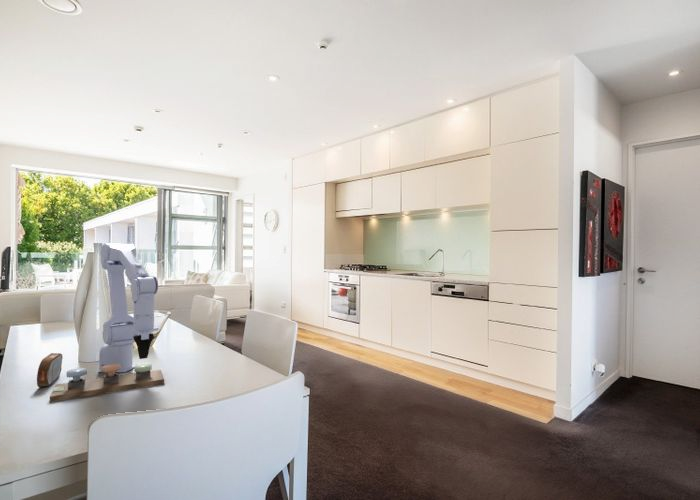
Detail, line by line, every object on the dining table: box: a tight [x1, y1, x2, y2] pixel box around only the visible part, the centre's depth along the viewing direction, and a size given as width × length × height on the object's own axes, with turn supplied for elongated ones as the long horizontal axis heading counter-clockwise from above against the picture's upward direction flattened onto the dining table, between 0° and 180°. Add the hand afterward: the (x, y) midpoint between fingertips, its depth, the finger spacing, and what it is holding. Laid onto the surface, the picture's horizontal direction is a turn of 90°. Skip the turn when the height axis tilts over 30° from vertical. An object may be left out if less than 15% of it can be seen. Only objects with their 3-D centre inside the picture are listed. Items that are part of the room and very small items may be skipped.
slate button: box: [65, 367, 88, 382], centre depth 109 cm, size 5×5×3 cm
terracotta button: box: [101, 364, 121, 377], centre depth 114 cm, size 5×5×3 cm
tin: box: [36, 352, 63, 388], centre depth 117 cm, size 15×3×8 cm, turn 23°
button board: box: [49, 369, 165, 403], centre depth 114 cm, size 28×11×3 cm, turn 122°
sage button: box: [133, 363, 153, 373], centre depth 118 cm, size 5×5×3 cm
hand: (143, 358), depth 118 cm, fingers closed
